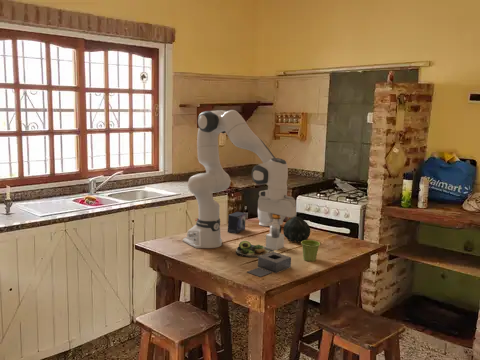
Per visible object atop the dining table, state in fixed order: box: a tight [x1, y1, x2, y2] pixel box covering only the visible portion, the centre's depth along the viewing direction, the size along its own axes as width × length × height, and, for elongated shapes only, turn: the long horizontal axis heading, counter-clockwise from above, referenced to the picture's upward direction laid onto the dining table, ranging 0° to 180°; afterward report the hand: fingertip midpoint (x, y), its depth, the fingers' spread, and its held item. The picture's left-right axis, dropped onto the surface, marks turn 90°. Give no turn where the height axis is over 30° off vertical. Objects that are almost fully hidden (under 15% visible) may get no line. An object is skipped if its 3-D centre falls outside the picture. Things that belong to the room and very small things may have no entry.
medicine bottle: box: [265, 225, 285, 251], centre depth 254 cm, size 7×7×12 cm
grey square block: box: [257, 251, 292, 274], centre depth 225 cm, size 11×11×5 cm
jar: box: [257, 208, 272, 227], centre depth 299 cm, size 11×10×15 cm
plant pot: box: [300, 239, 321, 262], centre depth 237 cm, size 9×9×9 cm
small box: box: [227, 211, 247, 234], centre depth 283 cm, size 11×6×10 cm, turn 150°
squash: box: [282, 216, 311, 243], centre depth 268 cm, size 14×15×15 cm
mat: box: [246, 267, 273, 278], centre depth 218 cm, size 8×8×1 cm
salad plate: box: [235, 240, 275, 258], centre depth 246 cm, size 19×18×5 cm
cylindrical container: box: [272, 214, 281, 238], centre depth 222 cm, size 4×4×11 cm
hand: (276, 223), depth 222 cm, fingers closed on cylindrical container, 4 cm apart
